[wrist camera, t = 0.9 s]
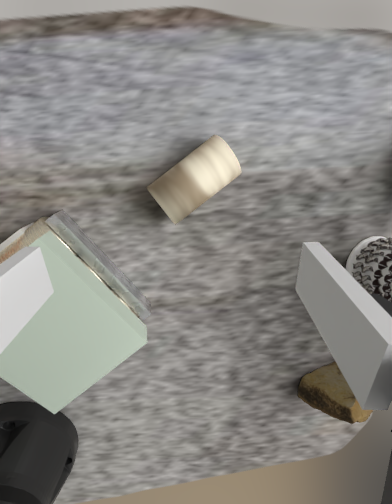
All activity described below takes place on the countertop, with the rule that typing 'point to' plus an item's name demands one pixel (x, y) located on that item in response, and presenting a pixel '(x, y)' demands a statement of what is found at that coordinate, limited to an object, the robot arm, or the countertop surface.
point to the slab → (70, 333)
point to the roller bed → (84, 258)
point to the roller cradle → (14, 237)
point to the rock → (331, 394)
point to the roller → (195, 178)
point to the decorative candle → (372, 265)
